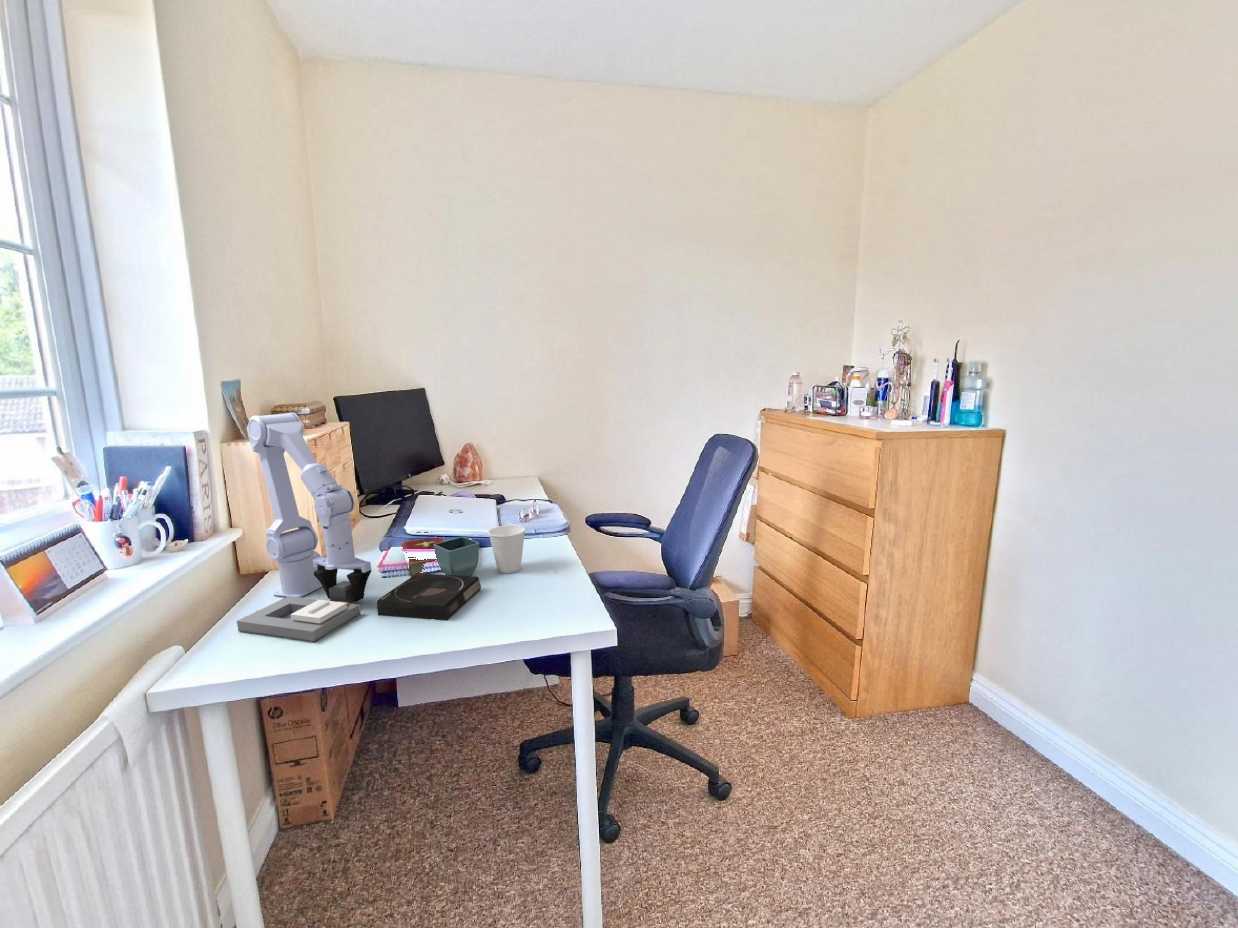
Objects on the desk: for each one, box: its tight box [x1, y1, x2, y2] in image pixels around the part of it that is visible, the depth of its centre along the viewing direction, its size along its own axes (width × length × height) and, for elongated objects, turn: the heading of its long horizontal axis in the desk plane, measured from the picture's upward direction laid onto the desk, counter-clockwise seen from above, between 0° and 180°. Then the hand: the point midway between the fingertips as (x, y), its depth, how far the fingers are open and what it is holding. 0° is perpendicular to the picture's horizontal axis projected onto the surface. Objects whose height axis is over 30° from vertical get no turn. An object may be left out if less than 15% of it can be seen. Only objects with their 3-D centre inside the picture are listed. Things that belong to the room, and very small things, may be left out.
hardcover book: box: [401, 537, 447, 577], centre depth 158 cm, size 12×21×4 cm, turn 26°
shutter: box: [291, 599, 347, 623], centre depth 119 cm, size 8×8×2 cm
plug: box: [329, 580, 356, 604], centre depth 129 cm, size 5×5×5 cm
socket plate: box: [236, 596, 362, 643], centre depth 121 cm, size 13×20×3 cm, turn 74°
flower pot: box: [434, 536, 480, 576], centre depth 145 cm, size 9×9×9 cm
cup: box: [487, 524, 527, 574], centre depth 148 cm, size 10×10×11 cm
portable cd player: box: [376, 573, 482, 621], centre depth 130 cm, size 16×17×4 cm
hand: (345, 598), depth 129 cm, fingers open, 7 cm apart
